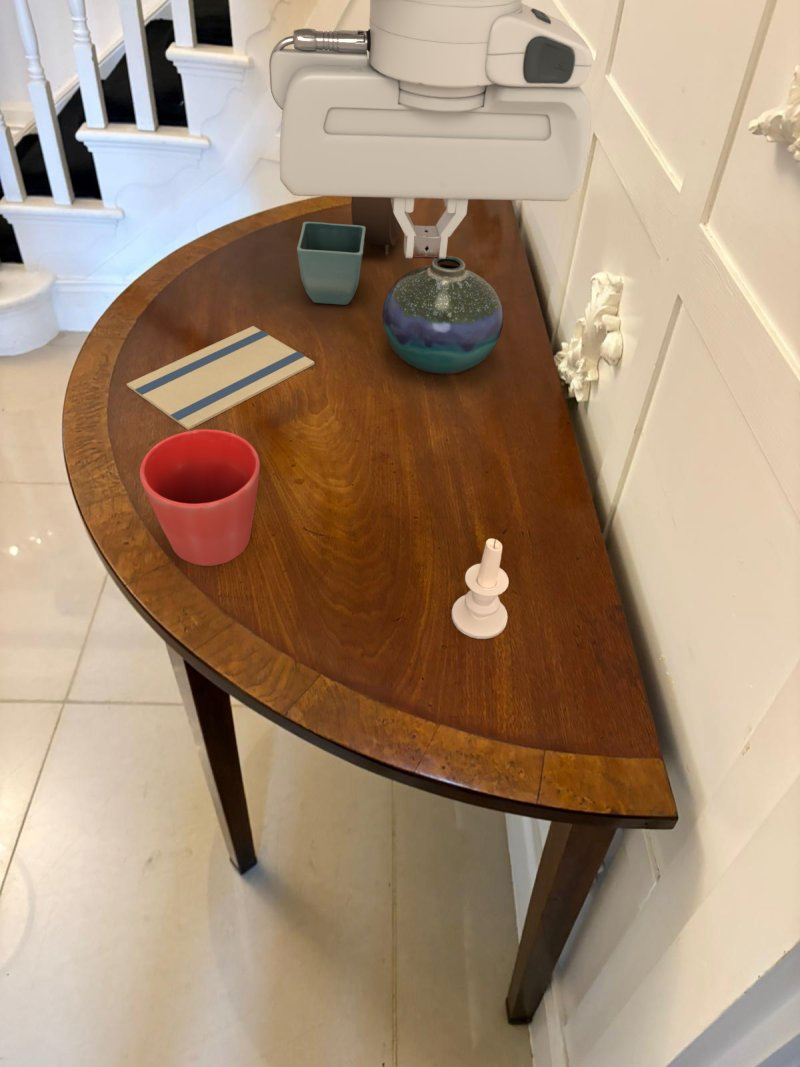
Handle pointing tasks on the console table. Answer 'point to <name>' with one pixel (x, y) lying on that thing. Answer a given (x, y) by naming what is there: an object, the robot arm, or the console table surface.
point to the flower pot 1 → (203, 493)
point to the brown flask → (376, 220)
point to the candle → (483, 596)
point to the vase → (442, 317)
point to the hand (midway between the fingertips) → (424, 255)
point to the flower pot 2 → (330, 261)
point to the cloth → (219, 376)
